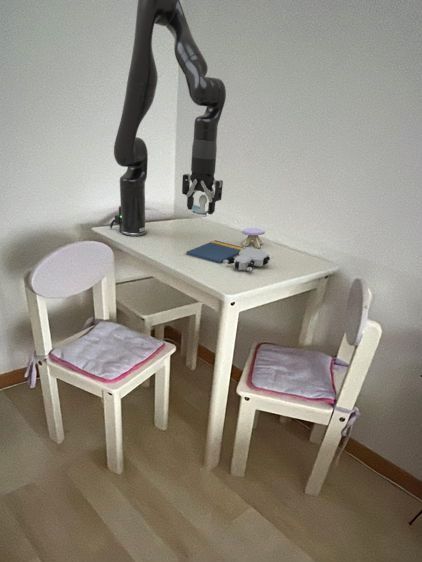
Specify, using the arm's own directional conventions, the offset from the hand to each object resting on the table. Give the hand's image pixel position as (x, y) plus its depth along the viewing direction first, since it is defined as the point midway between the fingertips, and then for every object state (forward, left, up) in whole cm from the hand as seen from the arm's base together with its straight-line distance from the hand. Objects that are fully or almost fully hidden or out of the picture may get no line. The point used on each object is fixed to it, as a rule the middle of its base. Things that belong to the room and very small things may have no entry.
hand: (200, 211), depth 140 cm
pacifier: (0, 0, -1) cm, 1 cm away
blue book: (+2, +11, -16) cm, 19 cm away
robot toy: (+17, +5, -16) cm, 24 cm away
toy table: (+7, +29, -16) cm, 34 cm away
